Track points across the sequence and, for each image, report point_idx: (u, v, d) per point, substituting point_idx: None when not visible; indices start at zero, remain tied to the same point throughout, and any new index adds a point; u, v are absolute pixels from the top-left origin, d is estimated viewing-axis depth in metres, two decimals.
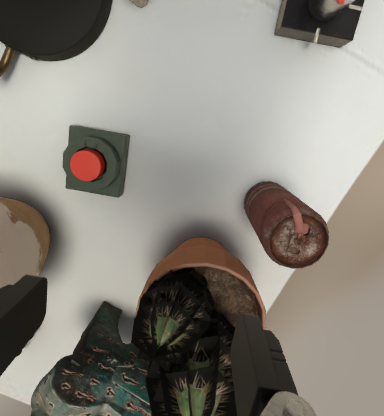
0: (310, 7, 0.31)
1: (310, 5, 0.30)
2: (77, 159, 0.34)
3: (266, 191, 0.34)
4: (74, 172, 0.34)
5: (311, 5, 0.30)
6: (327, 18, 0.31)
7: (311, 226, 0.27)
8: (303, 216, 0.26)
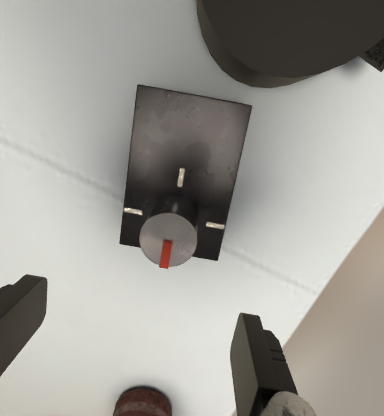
0: None
1: None
2: None
3: None
4: None
5: None
6: None
7: None
8: None
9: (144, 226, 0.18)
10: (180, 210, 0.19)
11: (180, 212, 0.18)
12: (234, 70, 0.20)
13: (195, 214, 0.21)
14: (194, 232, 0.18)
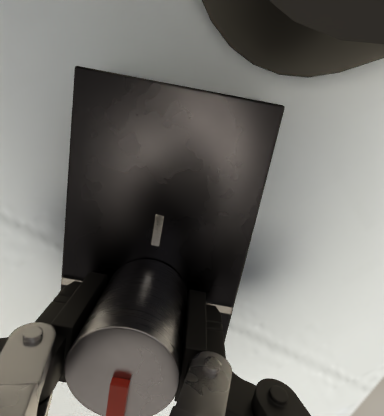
0: None
1: None
2: None
3: None
4: None
5: None
6: None
7: None
8: None
9: (72, 350, 0.09)
10: (149, 310, 0.10)
11: (148, 319, 0.09)
12: (254, 40, 0.11)
13: (181, 298, 0.12)
14: (174, 362, 0.09)
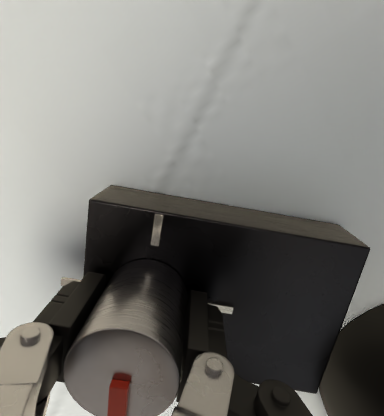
0: None
1: None
2: None
3: None
4: None
5: None
6: None
7: None
8: None
9: (70, 353, 0.09)
10: (146, 310, 0.09)
11: (145, 319, 0.09)
12: (365, 372, 0.14)
13: (180, 297, 0.12)
14: (173, 362, 0.09)
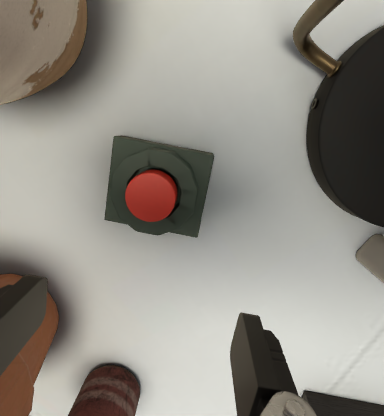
0: None
1: None
2: (160, 186, 0.20)
3: None
4: (138, 178, 0.20)
5: None
6: None
7: None
8: None
9: None
10: None
11: None
12: None
13: None
14: None
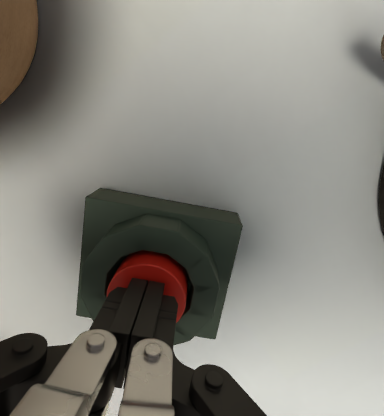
0: None
1: None
2: None
3: None
4: (127, 273, 0.13)
5: None
6: None
7: None
8: None
9: None
10: None
11: None
12: None
13: None
14: None
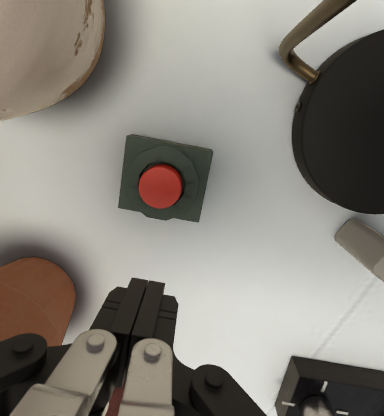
0: None
1: (301, 415, 0.34)
2: (168, 178, 0.24)
3: None
4: (150, 172, 0.24)
5: None
6: None
7: None
8: None
9: None
10: None
11: None
12: None
13: (335, 414, 0.32)
14: None
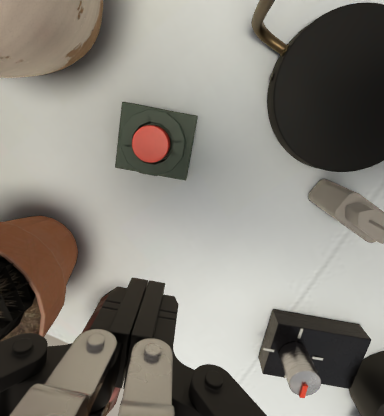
0: None
1: None
2: (157, 135, 0.28)
3: None
4: (141, 130, 0.28)
5: None
6: None
7: None
8: None
9: (292, 377, 0.33)
10: (309, 364, 0.34)
11: (311, 367, 0.33)
12: (368, 381, 0.39)
13: (310, 357, 0.36)
14: (320, 379, 0.33)
